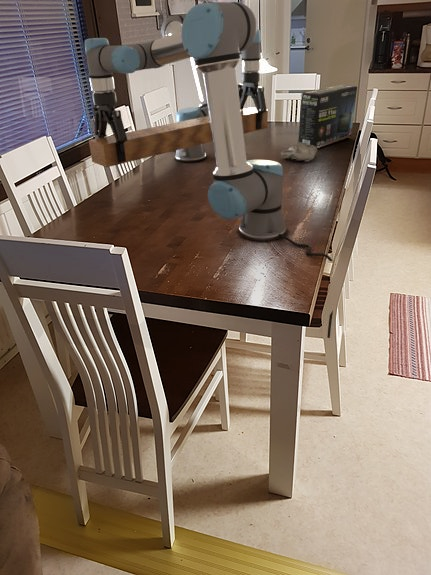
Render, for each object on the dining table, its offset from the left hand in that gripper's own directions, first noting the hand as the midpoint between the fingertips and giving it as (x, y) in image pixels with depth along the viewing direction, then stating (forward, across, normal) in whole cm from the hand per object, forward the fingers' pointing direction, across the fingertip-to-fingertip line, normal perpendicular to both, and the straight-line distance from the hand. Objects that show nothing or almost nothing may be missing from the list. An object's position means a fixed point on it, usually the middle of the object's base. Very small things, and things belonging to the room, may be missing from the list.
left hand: (249, 127), depth 202 cm
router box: (+18, +2, -59) cm, 62 cm away
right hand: (-1, -1, +69) cm, 69 cm away
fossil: (+18, -6, -27) cm, 33 cm away
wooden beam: (0, -1, +35) cm, 35 cm away
